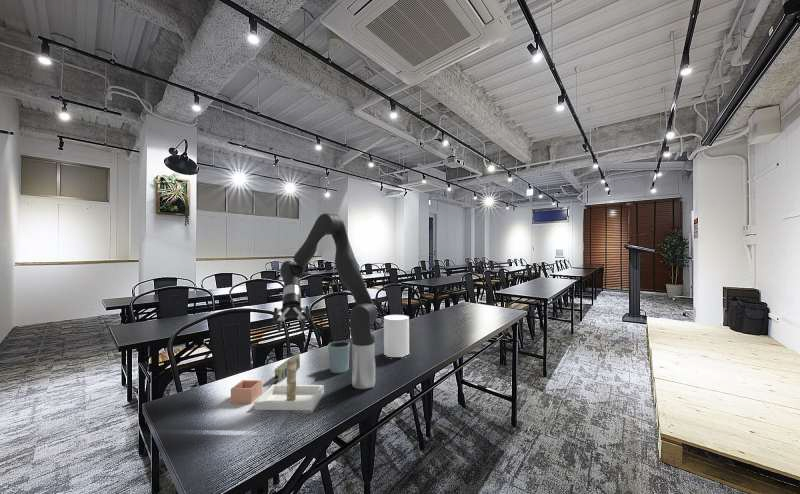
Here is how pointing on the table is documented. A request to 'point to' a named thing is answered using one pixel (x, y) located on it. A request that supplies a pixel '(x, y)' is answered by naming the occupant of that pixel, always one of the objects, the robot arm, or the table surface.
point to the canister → (396, 335)
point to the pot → (246, 391)
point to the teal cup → (339, 356)
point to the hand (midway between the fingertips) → (291, 329)
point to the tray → (277, 401)
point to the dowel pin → (291, 380)
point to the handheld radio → (285, 369)
